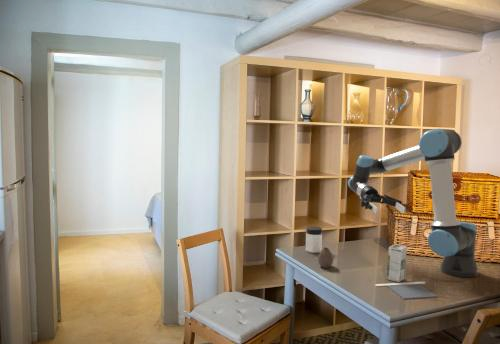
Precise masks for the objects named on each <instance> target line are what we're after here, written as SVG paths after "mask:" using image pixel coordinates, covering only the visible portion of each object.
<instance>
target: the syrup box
mask: <svg viewBox="0 0 500 344" xmlns="http://www.w3.org/2000/svg"><path fill="white" fill-rule="evenodd" d="M407 249H408V247H407V246H405V245H401V244H397V243H396V244H392V245H390V246H388V254H387V265H386V266H387V267H386V280H388V281H390V282H391V281H392V282H394V283H402V281H403V280H405V277H406V264H407V263H406V262H407Z"/></svg>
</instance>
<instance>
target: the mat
mask: <svg viewBox="0 0 500 344" xmlns="http://www.w3.org/2000/svg"><path fill="white" fill-rule="evenodd" d="M386 287H387V288H388V289H390V290H391V291H392V292H393V293H395V294H396V295H397V296H399V297H400V298H402V300H413V299H414V300H415V299H426V298H427V299H428V298H438V296H437V295H436V294H435V293H434V292H432V291H430V290H428V289H427V288H425V287H424V286H422V284H411V285H394V286H386Z"/></svg>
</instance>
